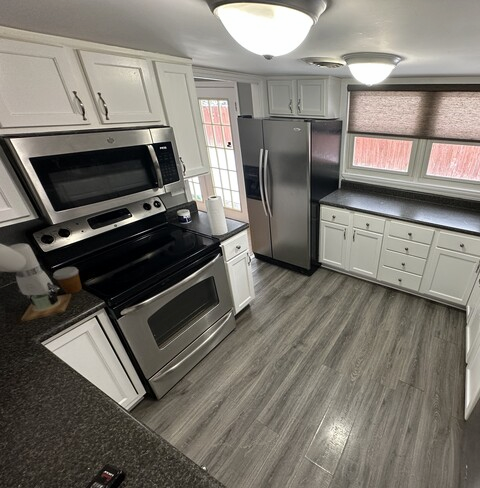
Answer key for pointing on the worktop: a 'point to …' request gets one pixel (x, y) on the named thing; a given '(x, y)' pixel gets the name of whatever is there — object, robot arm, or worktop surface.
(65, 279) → the disposable coffee cup
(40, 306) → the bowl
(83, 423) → the worktop surface
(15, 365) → the worktop surface
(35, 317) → the base
